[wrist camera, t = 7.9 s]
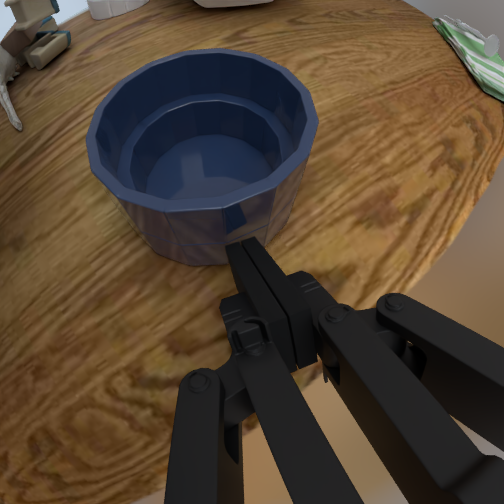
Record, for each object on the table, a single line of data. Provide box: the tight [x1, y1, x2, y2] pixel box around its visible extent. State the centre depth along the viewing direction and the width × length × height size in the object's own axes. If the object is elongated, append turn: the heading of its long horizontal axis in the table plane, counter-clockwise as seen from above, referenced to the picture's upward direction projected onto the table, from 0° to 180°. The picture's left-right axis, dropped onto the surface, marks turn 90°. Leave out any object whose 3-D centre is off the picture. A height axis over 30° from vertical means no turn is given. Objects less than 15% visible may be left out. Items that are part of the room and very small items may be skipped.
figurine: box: [444, 15, 499, 57], centre depth 32 cm, size 5×5×12 cm
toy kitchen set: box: [4, 0, 71, 70], centre depth 23 cm, size 18×14×11 cm
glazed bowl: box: [86, 48, 319, 266], centre depth 17 cm, size 12×12×8 cm
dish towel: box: [432, 17, 504, 101], centre depth 32 cm, size 18×23×3 cm
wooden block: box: [0, 21, 43, 57], centre depth 23 cm, size 4×4×8 cm
